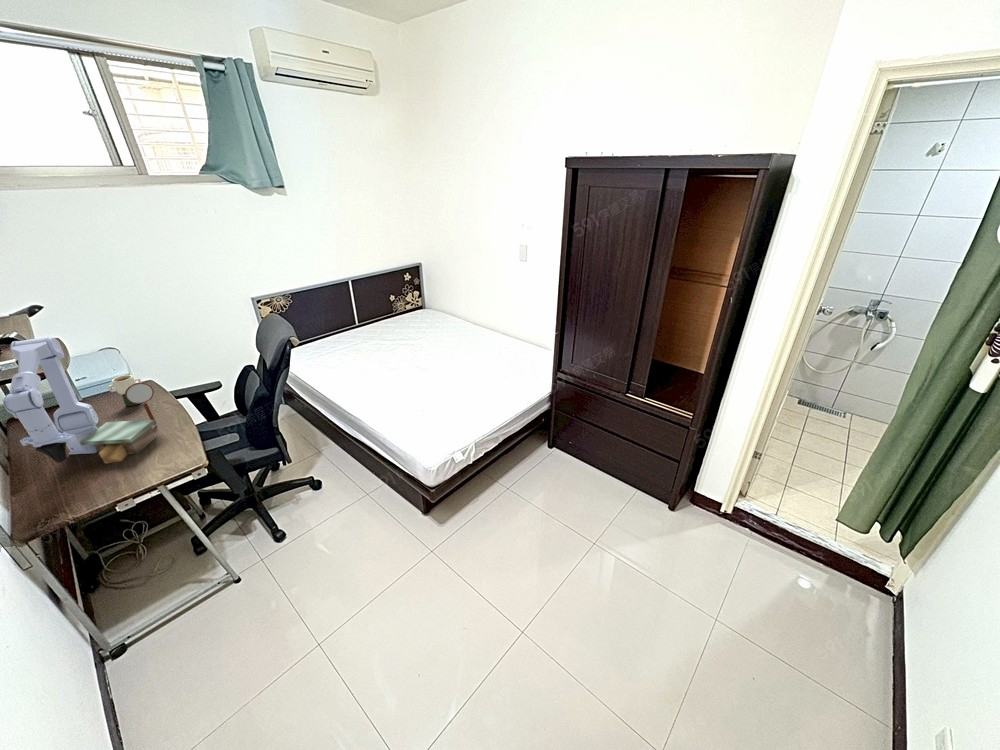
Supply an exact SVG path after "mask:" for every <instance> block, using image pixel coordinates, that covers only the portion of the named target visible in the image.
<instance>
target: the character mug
mask: <svg viewBox="0 0 1000 750" xmlns="http://www.w3.org/2000/svg"><path fill="white" fill-rule="evenodd" d="M136 381H137V382H136ZM111 383H112V384H110V385H107V387H108V389H109V392H110V393H114V392H116V393H118V394H119V395H121V397H122V400H123V403H124V405H125V406H127V407H129V406H136V405H137V404H134V403H131V402H129V401H128V400H127V399H126V397H125V392H126V390H127V388H128V387H129V386H131V385H133V384H135V383H143V382H142V380H141V378H139V377H137V378H134V376H133V375H131V374H123V375H120V376H117V377H114V378H113V379H112V380H111ZM113 388H114V389H113Z"/></svg>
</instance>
